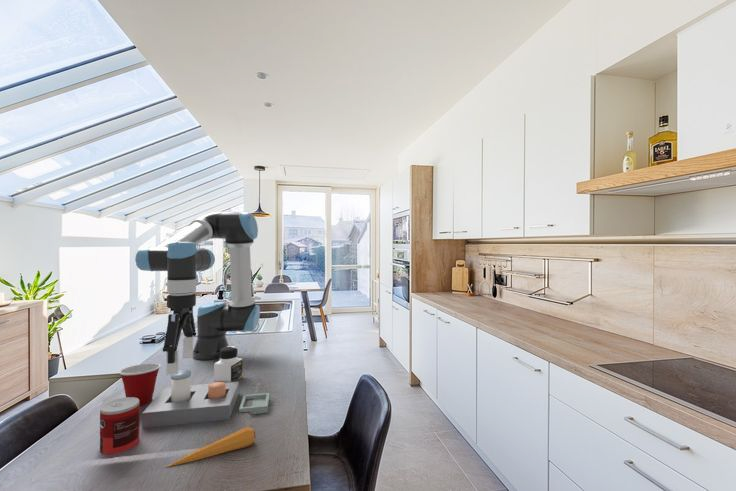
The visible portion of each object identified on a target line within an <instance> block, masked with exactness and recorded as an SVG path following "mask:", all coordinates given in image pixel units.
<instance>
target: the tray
mask: <svg viewBox="0 0 736 491" xmlns="http://www.w3.org/2000/svg"><path fill="white" fill-rule="evenodd" d="M251 399H252V401H251V405H250V406H245V403H246V400H251ZM269 404H270V392H263V393H252V394H243V396H242V399H241V402H240V404H239V408H238V413H246V412H248V415H257V414H258V415H259V414H267V413H268V409H269Z"/></svg>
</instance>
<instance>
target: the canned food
mask: <svg viewBox="0 0 736 491" xmlns="http://www.w3.org/2000/svg"><path fill="white" fill-rule="evenodd" d="M140 409H141V406H140V402H139V399H138V398H134V397H126V396H125V397H121V398H117V399H113V400H110V401H108V402H106V403H104V404H103V405H102V406H101V407H100V410H99V452H100V453H101V454H104V455H115V454H121V453H123V452H126V451H128V450H130V449H132V448H133V447H135V446H136V445H138V443H139V442H140V422H141V421H140V419H141V418H140V416H141V415H140V414H141V413H140V411H141V410H140ZM108 458H111V456H109V457H108Z"/></svg>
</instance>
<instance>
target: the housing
mask: <svg viewBox="0 0 736 491" xmlns="http://www.w3.org/2000/svg"><path fill="white" fill-rule="evenodd" d="M225 383H226V398H215V399H208V386H209V385H210V384H211V383H206V384H205V383H203V384H194V385H193V384H192V385H191V398H190V401H184V402H173V403H171V386H165V387H164V388H163V389H162V390H161V391H160V392H159V394H158V395H157V396H156V397H155V398H154V399H152V401H151V402H150V403H149V405H148V406H147V407H146V408H145V409H144V411H142V413H141V414H142V415H141V417H142V418H141V420H142V421H141V423H142V424H141V428H142V429H144V428H145V429H146V428H147V429H148V428H154V427H165V426H174V425H175V426H176V425H185V424H194V423H195V424H196V423H206V422H216V421H225V420H226V421H227V420H230V419H231V416H232V414H233V411H234V408H235V406H236V402H237V400H238V397H239V395H240V381H232V382H225Z"/></svg>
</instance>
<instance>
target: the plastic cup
mask: <svg viewBox="0 0 736 491" xmlns="http://www.w3.org/2000/svg"><path fill="white" fill-rule="evenodd" d="M160 369H161V364H160V363H157V362H155V363H154V362H151V363H140V364H135V365H132V366H131V365H130V366H126V367H124V368H121V369H120V370H119V371H118V373H119V375H120V377H121V380H122V383H123V389H124V393H125V394H124V395H125V398H126V397H134V398H138V399H139V402H140V407H144V406H146V405H148V404H151V403H152V402H153V396H154V393H155V387H156V381H157V378H158V377H157V376H158V374H159V371H160Z"/></svg>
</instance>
